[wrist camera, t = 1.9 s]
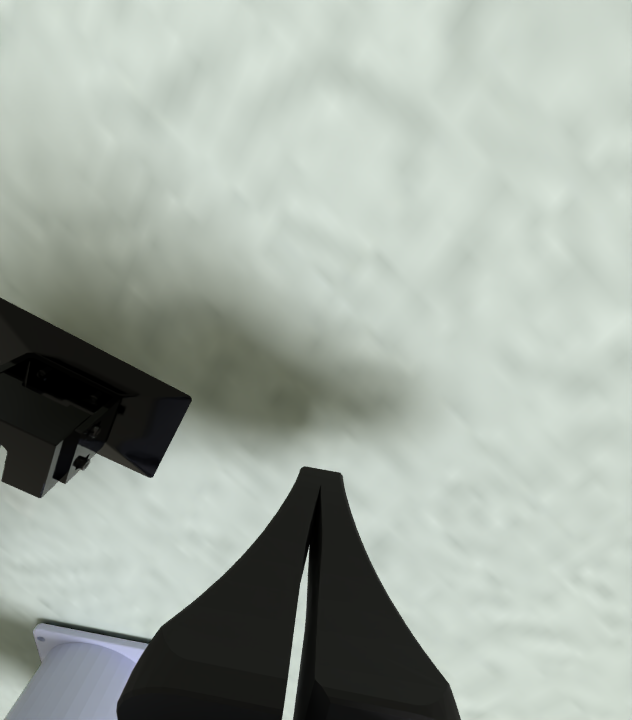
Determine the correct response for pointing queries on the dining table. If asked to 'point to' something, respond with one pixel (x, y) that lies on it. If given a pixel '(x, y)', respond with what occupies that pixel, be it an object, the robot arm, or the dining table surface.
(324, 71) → the dining table surface
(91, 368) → the build plate
